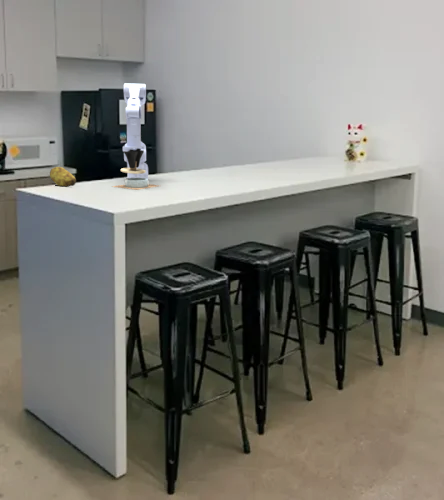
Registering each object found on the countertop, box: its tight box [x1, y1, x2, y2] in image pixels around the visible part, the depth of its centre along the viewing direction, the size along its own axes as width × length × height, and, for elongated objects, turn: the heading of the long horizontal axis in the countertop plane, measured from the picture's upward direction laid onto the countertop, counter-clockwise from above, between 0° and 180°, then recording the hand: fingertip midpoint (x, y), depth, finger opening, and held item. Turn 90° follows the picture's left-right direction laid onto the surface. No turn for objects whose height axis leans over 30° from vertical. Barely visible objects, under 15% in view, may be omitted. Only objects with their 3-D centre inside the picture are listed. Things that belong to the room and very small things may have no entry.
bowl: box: [124, 177, 149, 188], centre depth 267 cm, size 10×10×3 cm
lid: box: [120, 161, 145, 174], centre depth 266 cm, size 10×10×4 cm
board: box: [111, 183, 160, 191], centre depth 268 cm, size 16×14×1 cm
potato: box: [49, 166, 77, 187], centre depth 269 cm, size 8×13×8 cm, turn 37°
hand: (134, 167), depth 266 cm, fingers closed on lid, 3 cm apart
